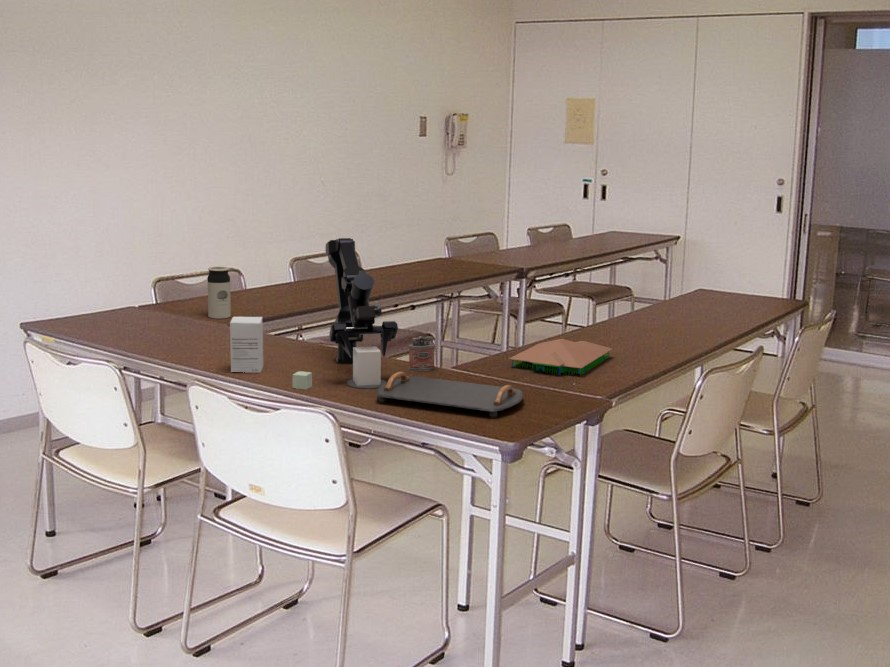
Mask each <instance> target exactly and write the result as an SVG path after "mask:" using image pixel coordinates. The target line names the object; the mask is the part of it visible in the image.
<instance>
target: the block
mask: <svg viewBox="0 0 890 667" xmlns="http://www.w3.org/2000/svg"><path fill="white" fill-rule="evenodd" d="M312 386H313V372H309V371H296V372H295V373H293V374H292V389H293V388H296V390H305V391H307V390H309V389H310V388H312Z"/></svg>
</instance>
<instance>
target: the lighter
mask: <svg viewBox="0 0 890 667" xmlns="http://www.w3.org/2000/svg"><path fill="white" fill-rule="evenodd" d="M425 342H426V343H425ZM430 342H434V337H433V336H425V337H423V336H422V335H420V336H418V337H412V343H413V344H412V343H411V344H409V345H408V353H409V354H408V371H409V372H428V371H434V370H435V369H436V366H435V363H436V362H435V360H436V359H435V353H436V352H435V351H436V344H434V343H430Z"/></svg>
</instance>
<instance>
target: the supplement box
mask: <svg viewBox="0 0 890 667" xmlns="http://www.w3.org/2000/svg"><path fill="white" fill-rule="evenodd" d="M263 326H264V325H263V316H232V318H231V320H230V322H229V335H230V336H229V342H230V343H229V344H230V349H229V350H230V373H231V372H243V373H244V372H245V373H246V374H247V373H253V374H255V373H258V374H259V373H262V372H263V368H264V336H263V334H264V332H263V331H264V328H263ZM243 373H242V374H243ZM245 373H244V374H245Z"/></svg>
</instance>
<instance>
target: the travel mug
mask: <svg viewBox="0 0 890 667" xmlns="http://www.w3.org/2000/svg"><path fill="white" fill-rule="evenodd" d="M207 270H208V273H209V274H208V275H207V277H206V278H207V279H206V280H207V312H208V314H207V315H208V316H207V317H208V318H209V319H213V320H221V319H222V320H224V319H228V318H231V317H232V311H231V310H232V306H231V304H232V303H231V276H230V275H229V270H230V267H227V266H210V267H208V268H207Z"/></svg>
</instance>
